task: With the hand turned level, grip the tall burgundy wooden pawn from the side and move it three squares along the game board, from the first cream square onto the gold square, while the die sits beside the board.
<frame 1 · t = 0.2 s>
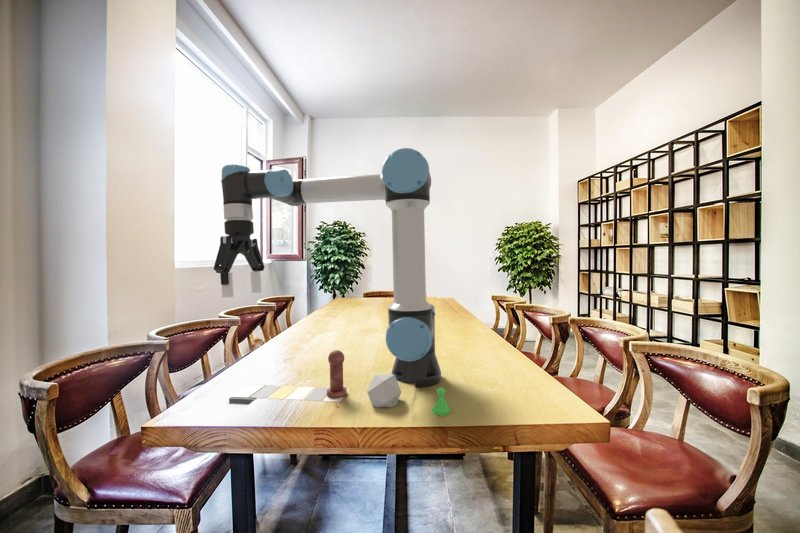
hand: (243, 294, 98), 27 cm above the table, tool pointing down, fingers open, 13 cm apart
pawn: (336, 394, 90), point 1 cm above the table, touching board
die: (384, 407, 85), on the table
board: (292, 396, 92), on the table
game piece: (441, 412, 82), on the table
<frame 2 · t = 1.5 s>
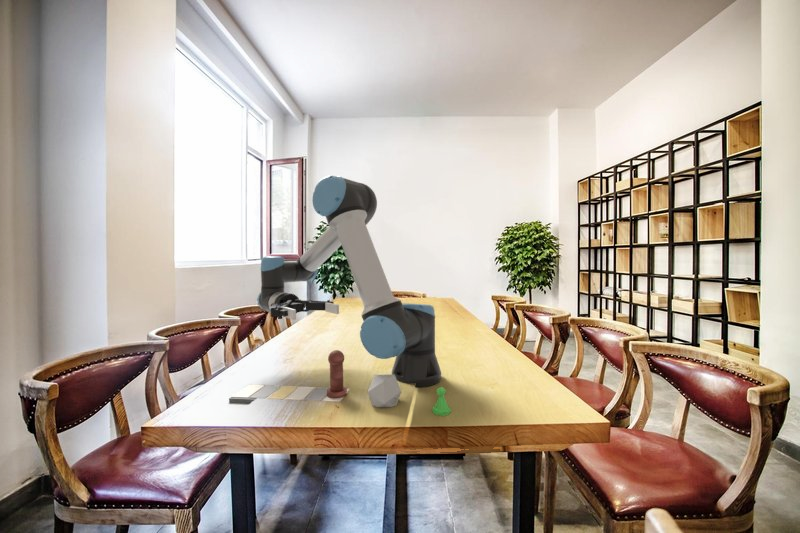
hand: (317, 311, 97), 22 cm above the table, tool horizontal, fingers open, 13 cm apart
nothing on the table moved.
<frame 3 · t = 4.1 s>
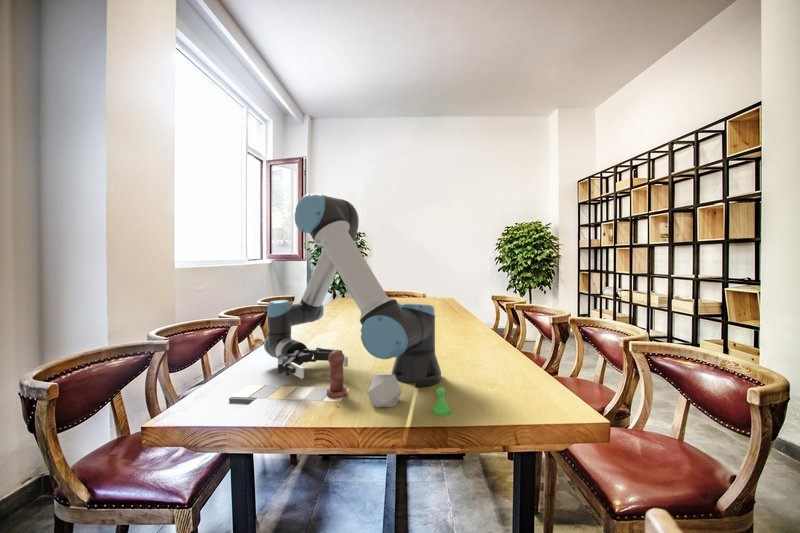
hand: (325, 367, 94), 7 cm above the table, tool horizontal, fingers open, 13 cm apart
nothing on the table moved.
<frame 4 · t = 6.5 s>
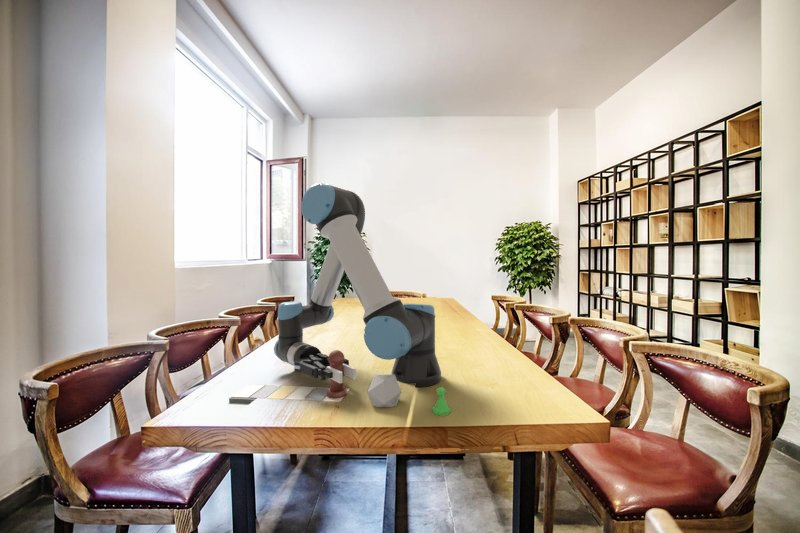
hand: (347, 375, 86), 8 cm above the table, tool horizontal, fingers closed on pawn, 3 cm apart
pawn: (336, 394, 90), point 1 cm above the table, touching board, gripper
everything else where it was.
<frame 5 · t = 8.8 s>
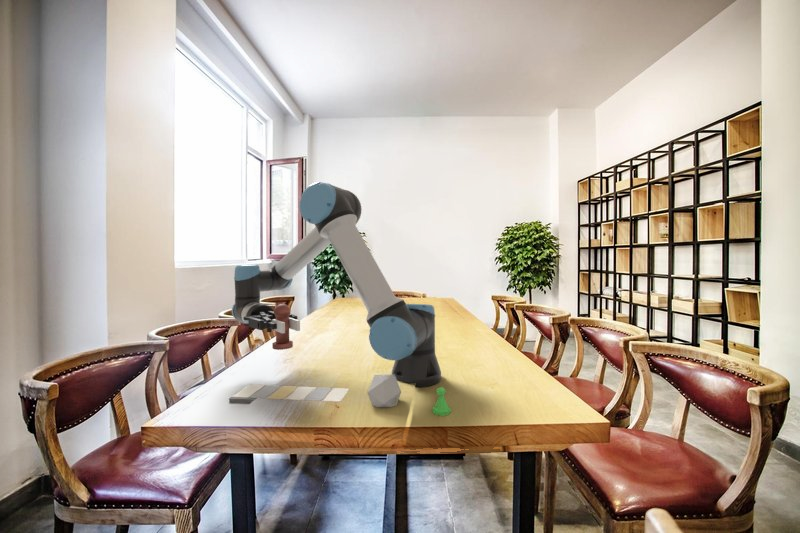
hand: (291, 326, 88), 20 cm above the table, tool horizontal, fingers closed on pawn, 3 cm apart
pawn: (282, 347, 92), point 13 cm above the table, touching gripper
everything else where it was.
when the fingers open (9 cm above the table, at t = 11.0 s): pawn drops 1 cm, resting on board.
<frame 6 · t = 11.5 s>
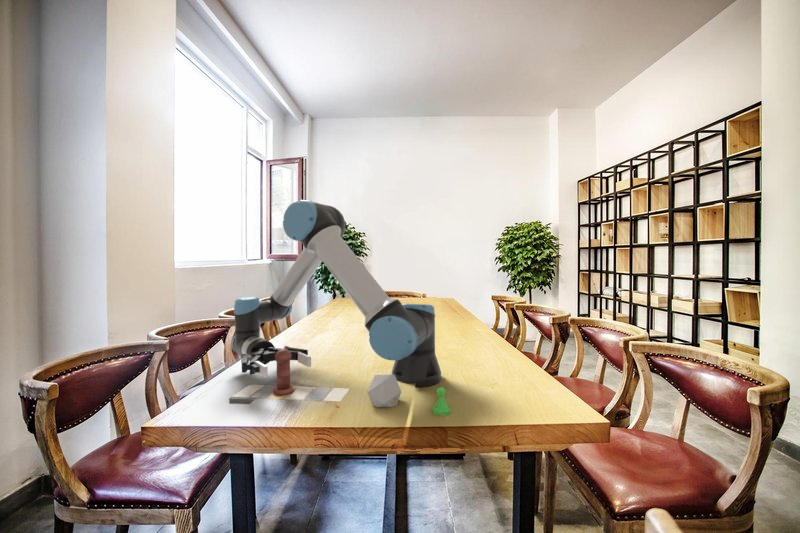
hand: (289, 366, 89), 9 cm above the table, tool horizontal, fingers open, 11 cm apart
pawn: (283, 391, 92), point 1 cm above the table, touching board
everything else where it was.
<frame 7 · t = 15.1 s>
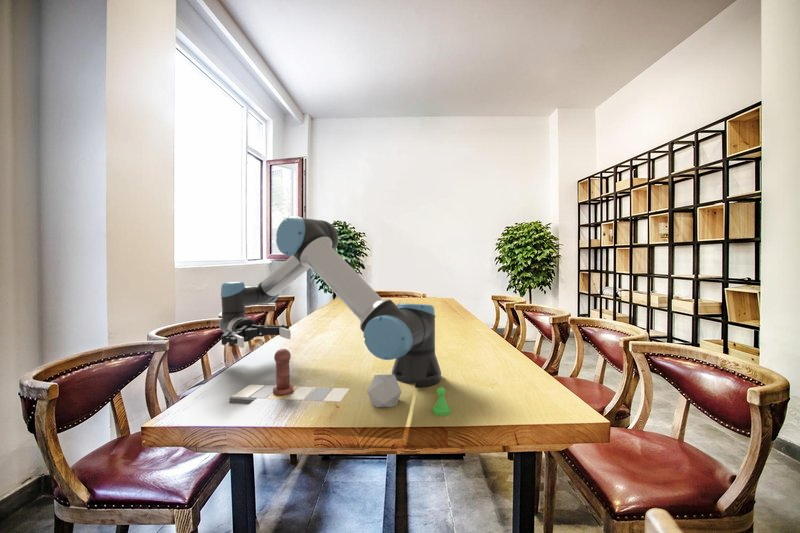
hand: (267, 338, 100), 14 cm above the table, tool horizontal, fingers open, 13 cm apart
nothing on the table moved.
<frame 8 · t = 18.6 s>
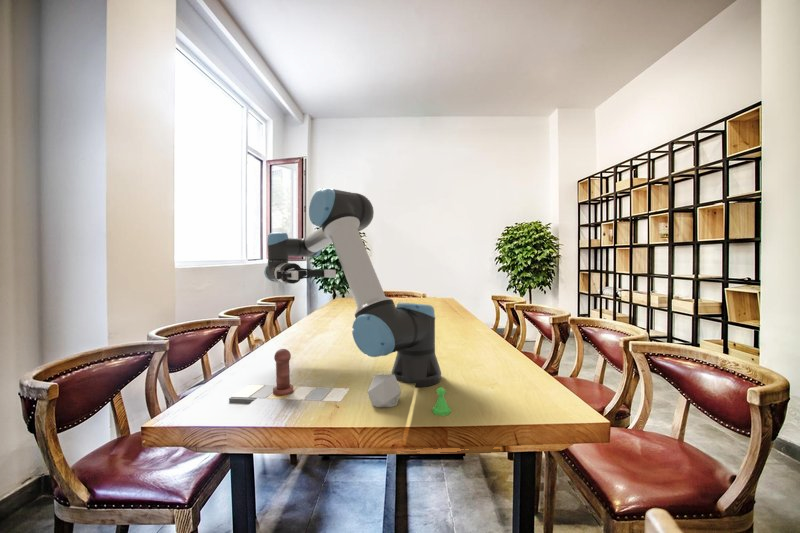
hand: (316, 274, 112), 32 cm above the table, tool horizontal, fingers open, 13 cm apart
nothing on the table moved.
at the end: pawn 0.1 cm from the target spot on the board, point 1.2 cm above the board's base; pawn tilted 0°; the gripper is holding nothing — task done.
